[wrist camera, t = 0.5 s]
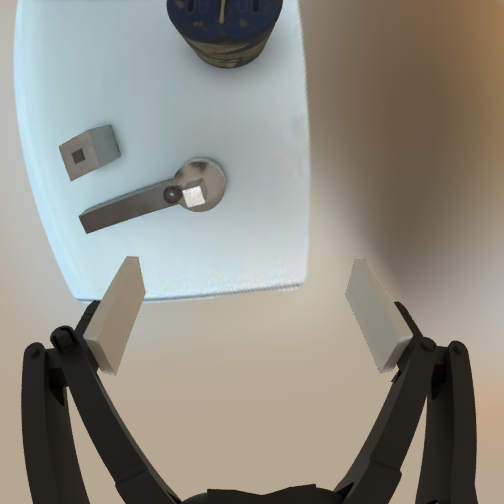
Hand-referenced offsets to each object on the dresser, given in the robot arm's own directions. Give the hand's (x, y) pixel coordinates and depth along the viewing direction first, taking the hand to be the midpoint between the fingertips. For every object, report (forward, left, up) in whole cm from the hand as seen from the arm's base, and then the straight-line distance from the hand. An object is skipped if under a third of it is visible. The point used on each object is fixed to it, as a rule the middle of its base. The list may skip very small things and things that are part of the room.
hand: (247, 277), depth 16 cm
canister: (-19, +3, -25) cm, 32 cm away
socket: (-10, -19, -25) cm, 33 cm away
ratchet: (0, -14, -25) cm, 29 cm away
